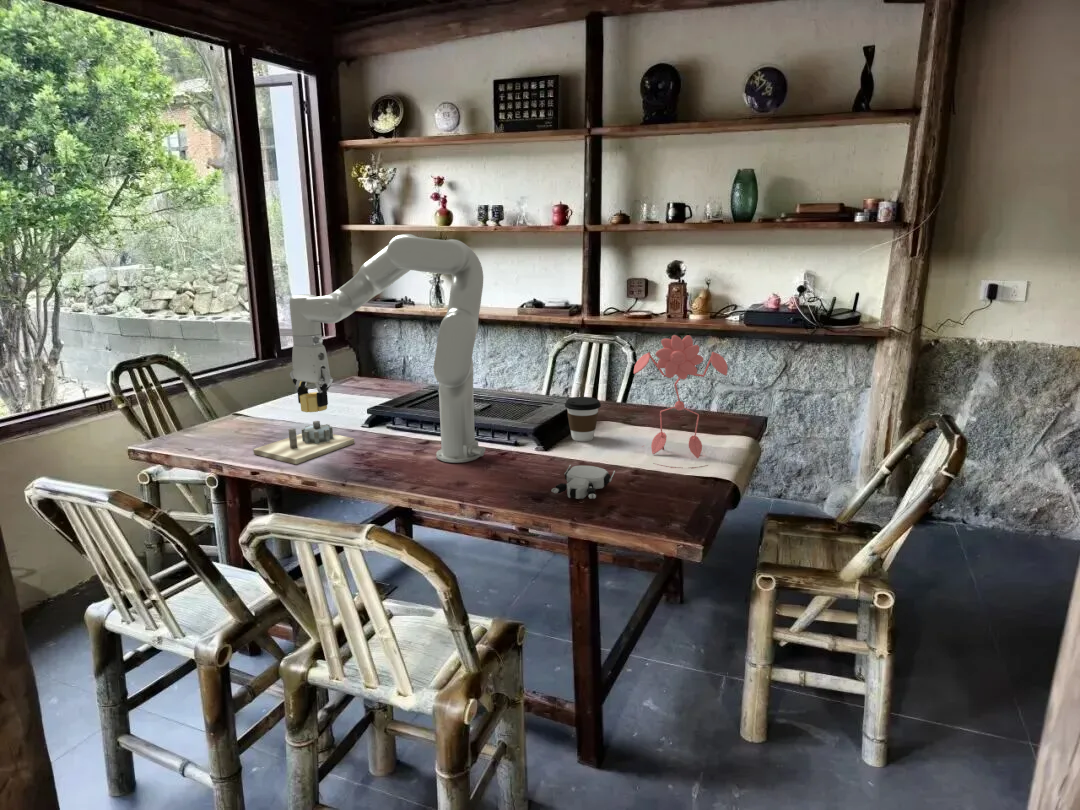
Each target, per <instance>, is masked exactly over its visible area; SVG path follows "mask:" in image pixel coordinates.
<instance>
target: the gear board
mask: <svg viewBox="0 0 1080 810" xmlns="http://www.w3.org/2000/svg"><path fill="white" fill-rule="evenodd" d="M287 430H288V437H287V438H284V439H281V440H277V441H274V442H271V443H268V444H265V445H262V446H259V447H256V448H253V450H252V451H253V455H256V456H261V457H265V458H268V459H273V460H277V461H280V462H285V463H289V464H292V465H299V464H302V463H304V462H306V461H309V460H312V459H315V458H317V457H320V456H323V455H326V454H328V453H331V452H334V451H336V450H339V449H343V448H345V447H348V446H350V445H354V444H355V443H356V442H355V438H354V437H349V436H345V435H339V434H334V432H333V431H334V430H333V426H331V425H330V424H328V423H327V424H321V421H320V420H314V421H312V425H306V426H305V427H304V428H301V433H299V434H297V429H296V428H295V427H293V428H289V429H287Z"/></svg>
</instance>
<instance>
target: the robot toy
mask: <svg viewBox="0 0 1080 810" xmlns="http://www.w3.org/2000/svg"><path fill="white" fill-rule="evenodd" d="M615 473H616V470H613V472H612V475H610V474H609V471H608V470H607V469H605V468H602V467H598V466H593V465H575V466H572V465H571V464H569V465H568V468H567V469H566V471H565V472H564V473H563V474H564V478H565V479H564V480H566V483H557V484H556V485H555V487H553V488H551V492H552V493H554V494H562V493H564V492H566V494H567V498H569V499H571V498H572V499H576V500H577V499H578V500H580V499H583V500H584V499H585V498H586V497H588V498H589V499H596V498H597V494H596V493H597V492H596V490H598V489H603V488H604V487H606V486H608V485H609V483H611V482H612V479H613V477H614V474H615Z"/></svg>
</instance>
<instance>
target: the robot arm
mask: <svg viewBox="0 0 1080 810" xmlns="http://www.w3.org/2000/svg"><path fill="white" fill-rule="evenodd" d="M410 271H414V272H415V271H416V272H422V273H423V272H424V273H431V274H439V275H451V286H450V293H449V299H448V305H447V306H448V307H447V310H446V314H445V316H444V317H443V318H442V320H441V323H440V325H439V329H438V336H437V340H436V341H437V342H436V346H435V347H436V348H435V353H434V360H433V361H434V362H433V370H432V371H433V375H434V377H435V380H436V381H437V383H438V398H439V402H438V403H439V420H440V421H439V423H440V424H439V425H440V443H441V444H440V445H441V448H440V449H438V450H437V451H436V454H435V455H436V458H437V460H439V461H440V462H441V461H442V462H444V463H454V464H456V463H457V464H459V463H461V464H462V463H467V462H472V461H475V460H477V459H479V458H480V457H483V456H484V455H485V452H486V447H484V446H479V440H476V438H475V437H476V436H475V435H476V433H475V430H476V429H475V408H474V407H475V406H474V360H473V353H474V348H475V342H476V337H477V336H476V335H477V333H478V331H479V317H480V311H481V303H482V295H483V289H484V270H483V266H482V264H481V261H480V258H479V257H478V254H476V252H475V251H474V250H473V249H472V248H471V247H469V246H468V245H467V244H466V243H464V242H463V241H461V240H459V239H454V238H453V239H452V238H450V239H446V240H445V239H437V238H427V237H419V236H416V235H414V234H411V233H404V234H399V235H395V237H394V236H393V238H392V239H391V240H390V241H389V243H388V244H387V246H385V247H384V248H383V249H381V250H380V251H379V252H377V253H376V254H375V255H373V256H372V257H370V258H369V259H368V260H367V261H366V262H364V263H363V264H362V265H361V266H360V268H359V270H358V272H356V274H354V276H353V277H352V278H351V279H349V280H348V281H347V282H346V283H344V284H343V285H342V286H339V288H338V289H336V290H335V291H333V292H331V293H329V294H327V295H322V296H317V295H314V294H295V295H292V296H291V297H290V298H289V311H290V312H289V313H290V322H291V332H292V344H293V345H292V355H291V356H292V357H291V361H292V369H291V371H290V372H289V377H290V378H291V380H292V383H293V384H294V386H295V389H296V390H297V402H298V404H300V395H302V394H306V393H309V387H307V383H310V384H314V385H315V388H316V390H317V392H318V393H317V404H318V407H322V406H325V405H327V406H328V405H329V402H328V401H329V400H328V398H329V397H328V391H329V389H330V388H331V385H332V384H333V381H334V378H333V377H332V375H331V372H330V371H331V370H330V365H329V359H328V354H327V353H328V352H327V351H326V347H325V345H324V344H323V342H324V341H323V335H322V324H321V323H323V324H336V323H339V322H340V321H343V320H344V319H346V318H347V317H350V315H352V314H353V313H355V312H356V311H357V310H358V309H360V308H361V307H362V306H364V305H365V304H367V303H368V302H369V301H370V300H372V299H373V298H375V296H378V295H380V294H381V293H382V292H383V291H385V290H387V288H389V287H390V286H391V285H393V284H394V283H395V282H396V281H398V280H399V279H400V278H402V277H403V276H404V275H406V274H408V272H410Z"/></svg>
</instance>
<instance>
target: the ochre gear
mask: <svg viewBox="0 0 1080 810" xmlns="http://www.w3.org/2000/svg"><path fill="white" fill-rule="evenodd" d="M317 393H318V391H315V392H313V391H311V392H308V393H306V394H302V395H300V403H299V404H300V411H301V412H303V413H318V412H323V411H326V410H328V405H325V406H322V407H318V404H317Z"/></svg>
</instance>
